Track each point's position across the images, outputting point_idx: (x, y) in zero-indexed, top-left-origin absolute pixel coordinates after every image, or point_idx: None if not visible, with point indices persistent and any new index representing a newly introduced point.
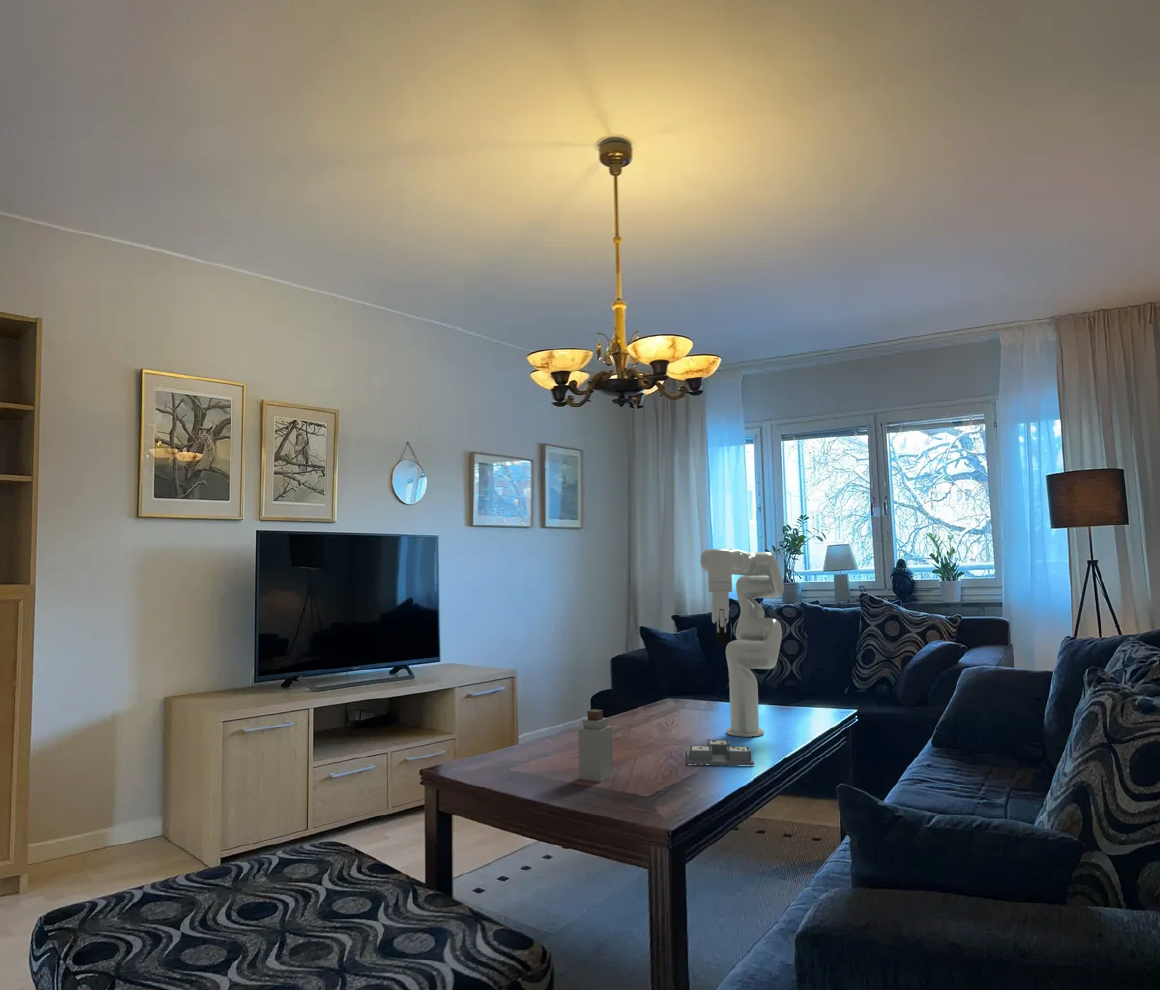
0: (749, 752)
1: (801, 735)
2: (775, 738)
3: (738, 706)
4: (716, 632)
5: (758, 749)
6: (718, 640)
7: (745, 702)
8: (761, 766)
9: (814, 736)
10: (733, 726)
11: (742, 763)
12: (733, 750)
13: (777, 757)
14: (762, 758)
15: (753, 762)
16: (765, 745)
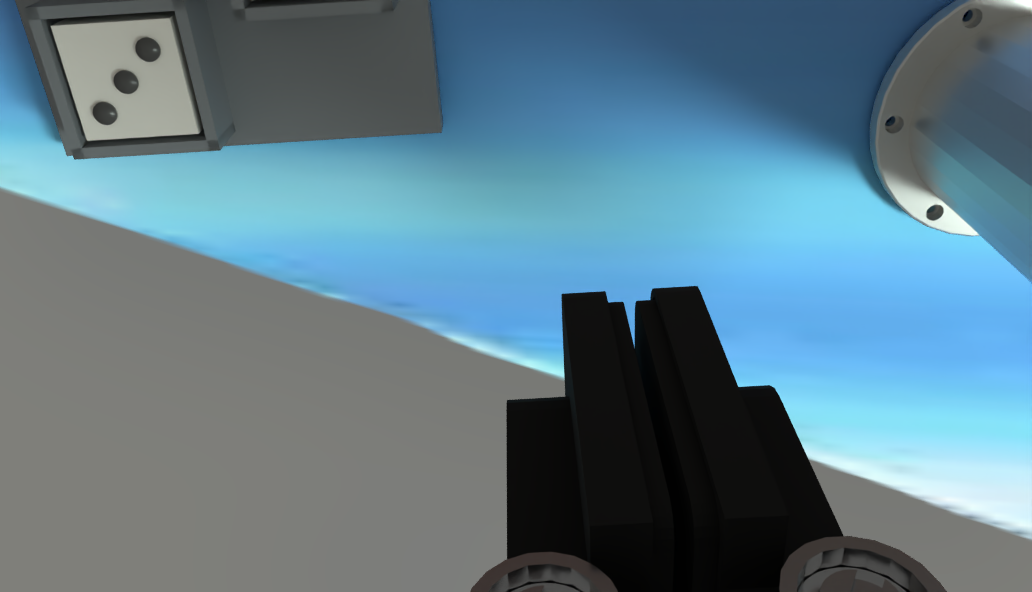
0: (75, 149)
1: (901, 416)
2: (830, 286)
3: (1026, 140)
4: (770, 518)
5: (521, 182)
6: (569, 397)
7: (1017, 213)
8: (99, 185)
9: (869, 470)
10: (990, 44)
11: (48, 86)
12: (69, 48)
13: (338, 274)
14: (293, 197)
15: (67, 152)
16: (635, 224)
